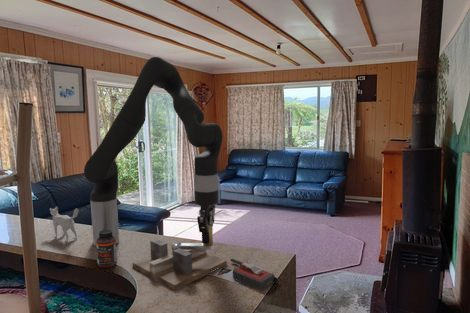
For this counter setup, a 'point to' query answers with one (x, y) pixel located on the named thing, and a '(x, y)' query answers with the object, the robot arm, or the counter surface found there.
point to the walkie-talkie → (253, 275)
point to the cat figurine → (63, 222)
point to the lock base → (177, 277)
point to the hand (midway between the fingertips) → (207, 240)
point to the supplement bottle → (106, 249)
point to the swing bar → (196, 245)
